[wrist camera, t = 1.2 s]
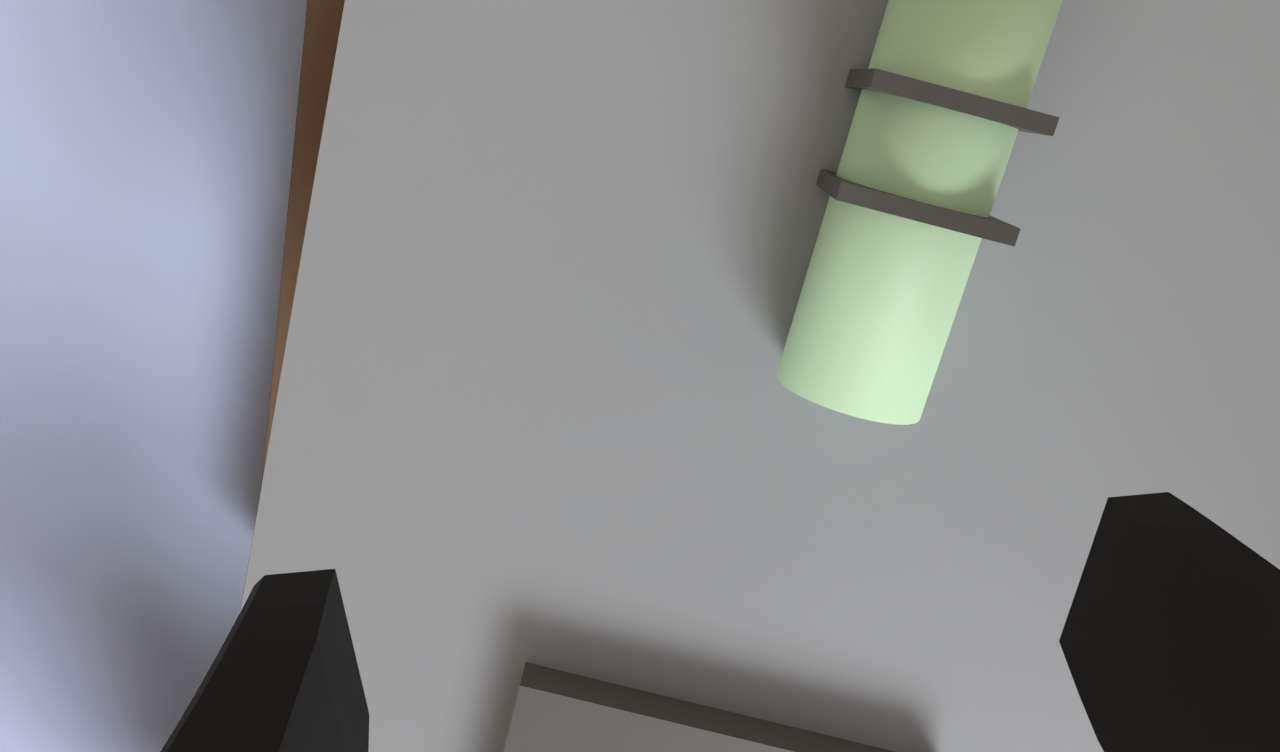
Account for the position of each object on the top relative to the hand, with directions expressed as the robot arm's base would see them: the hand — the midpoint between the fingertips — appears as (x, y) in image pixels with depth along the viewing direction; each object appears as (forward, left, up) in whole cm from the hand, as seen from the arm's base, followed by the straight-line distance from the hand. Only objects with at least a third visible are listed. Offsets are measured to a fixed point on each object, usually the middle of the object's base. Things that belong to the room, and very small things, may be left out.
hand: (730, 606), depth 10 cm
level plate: (-1, -1, -6) cm, 6 cm away
